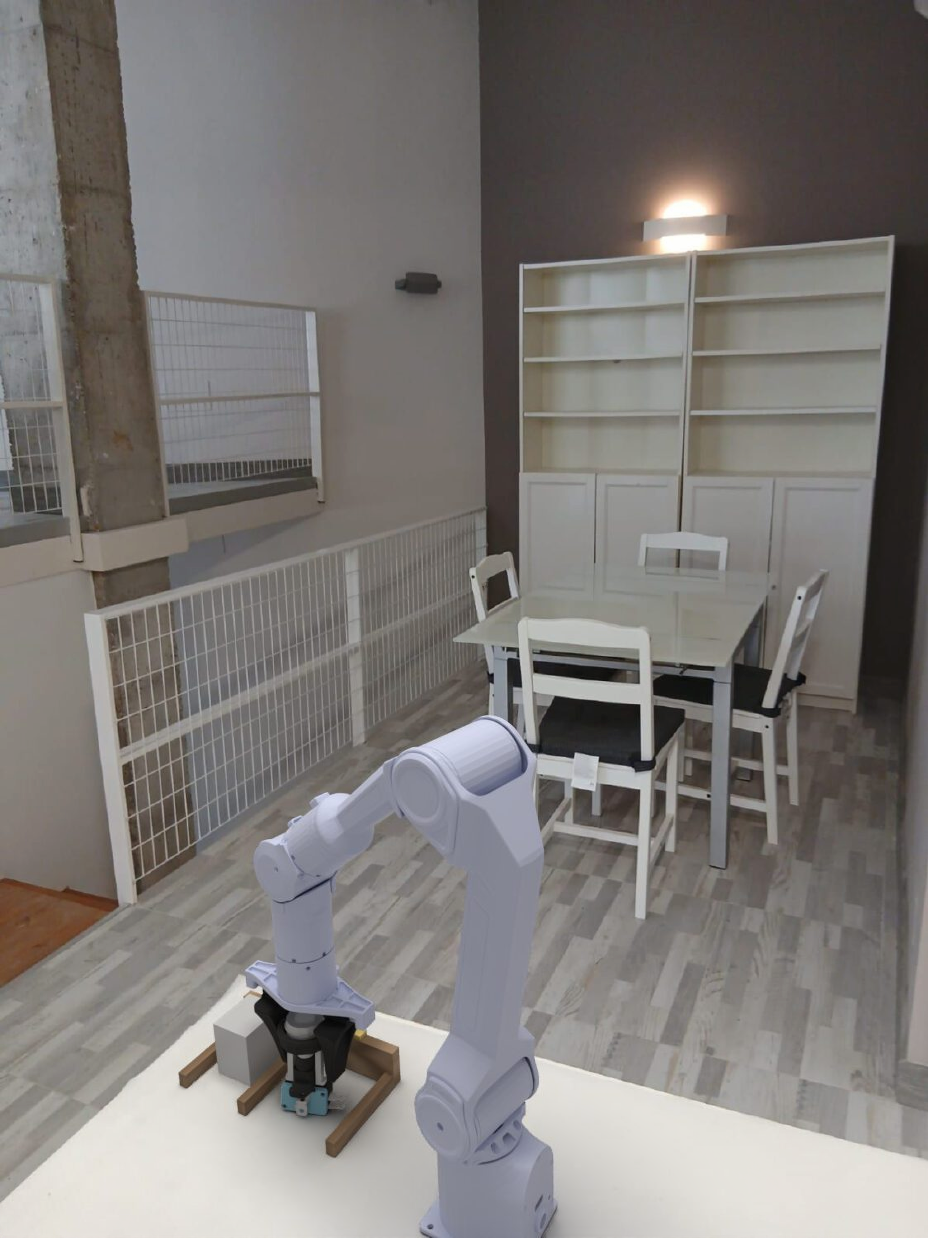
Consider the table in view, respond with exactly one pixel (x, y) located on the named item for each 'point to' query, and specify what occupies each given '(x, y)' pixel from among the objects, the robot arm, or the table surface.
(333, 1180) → the table surface
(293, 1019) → the push button
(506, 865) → the robot arm
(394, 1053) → the wooden bench frame
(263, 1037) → the grey plug block
